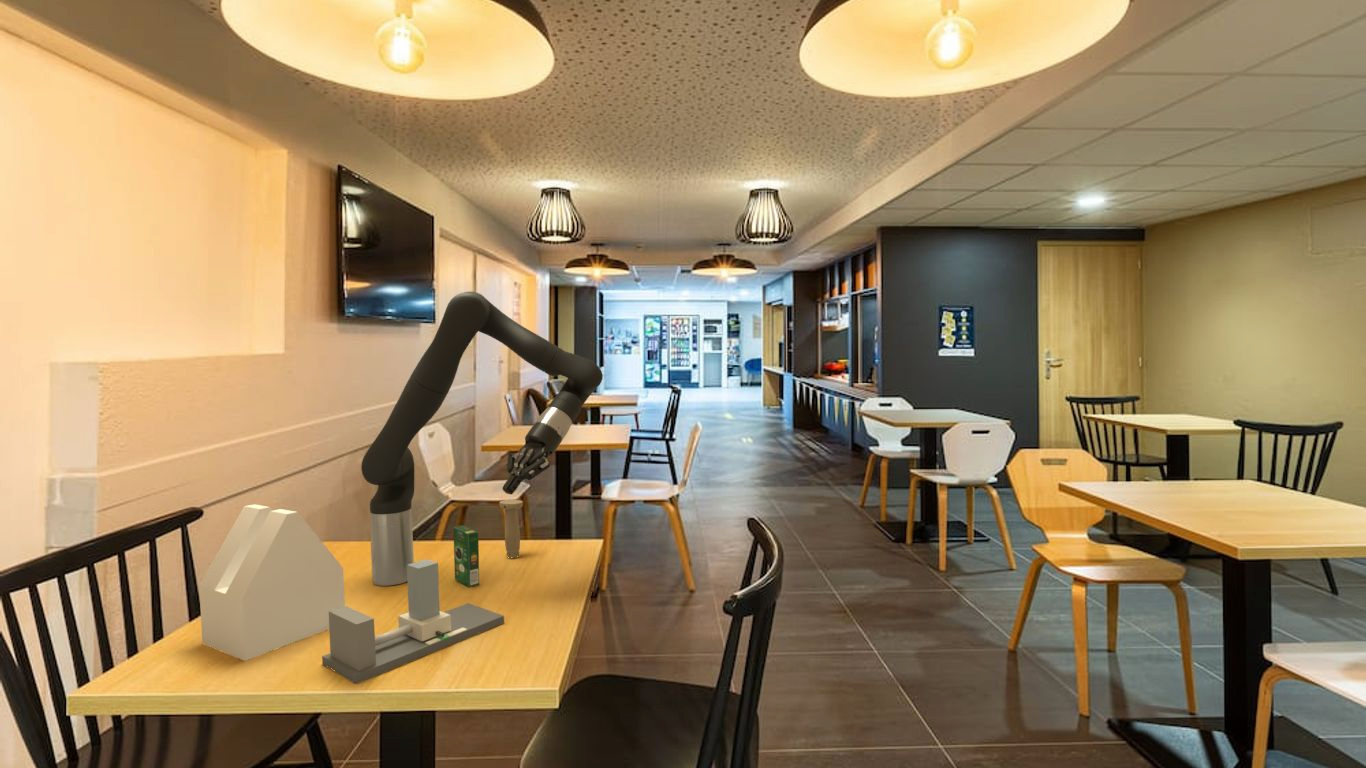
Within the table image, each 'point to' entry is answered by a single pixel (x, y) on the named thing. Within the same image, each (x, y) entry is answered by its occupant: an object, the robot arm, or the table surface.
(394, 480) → the robot arm
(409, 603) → the gauge slider
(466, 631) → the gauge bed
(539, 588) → the table surface
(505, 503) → the handle
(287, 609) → the white house-shaped block
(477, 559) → the coffee box
